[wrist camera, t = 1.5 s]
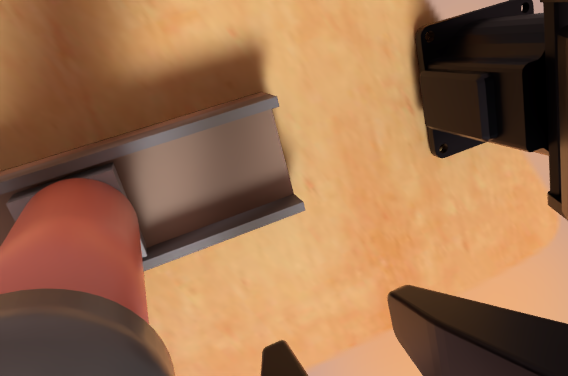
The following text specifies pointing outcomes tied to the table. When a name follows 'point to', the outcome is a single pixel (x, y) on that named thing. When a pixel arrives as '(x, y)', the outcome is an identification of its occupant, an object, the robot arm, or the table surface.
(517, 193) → the table surface
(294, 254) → the table surface
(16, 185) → the track
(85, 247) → the plug
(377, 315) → the table surface
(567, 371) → the robot arm
